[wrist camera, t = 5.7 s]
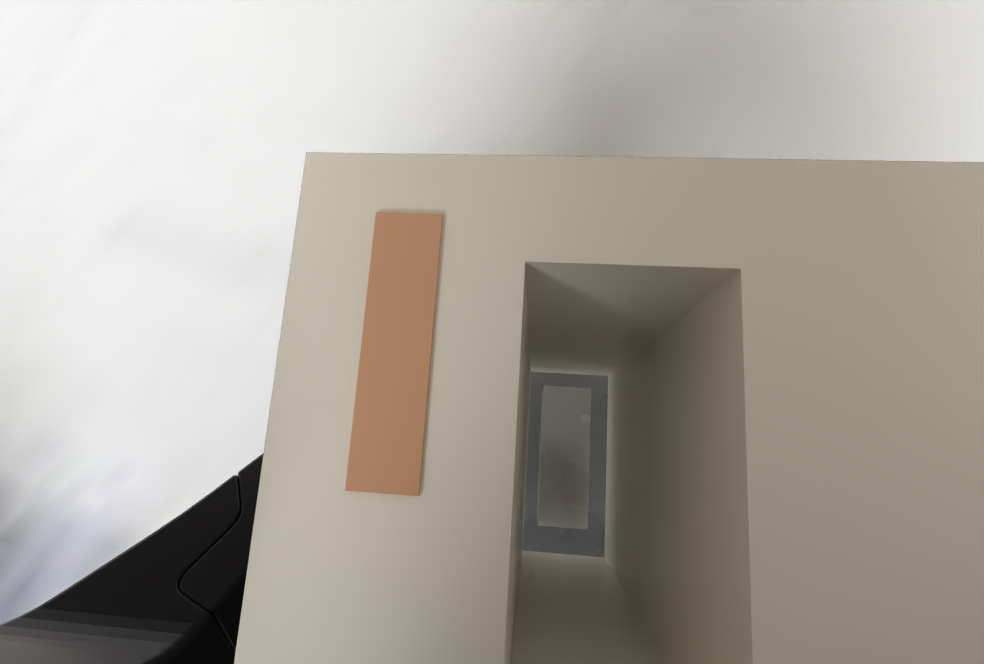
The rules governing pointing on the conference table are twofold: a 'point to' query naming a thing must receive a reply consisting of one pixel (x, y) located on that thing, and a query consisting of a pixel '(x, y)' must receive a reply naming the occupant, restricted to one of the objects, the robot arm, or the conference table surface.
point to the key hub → (566, 464)
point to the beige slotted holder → (627, 412)
